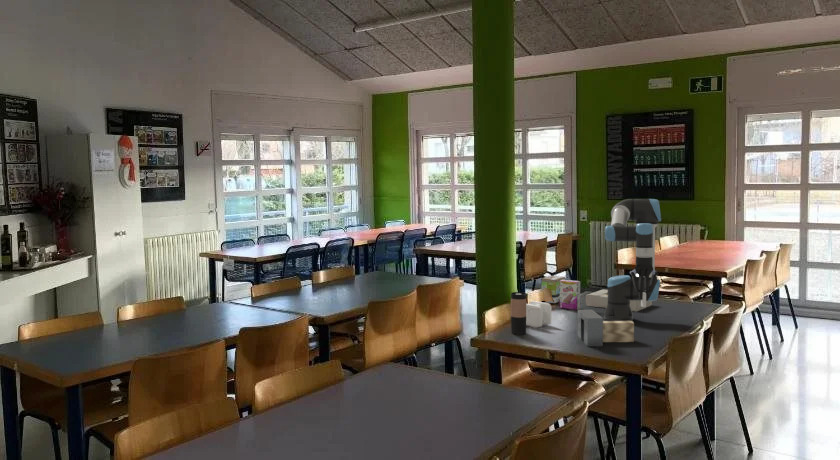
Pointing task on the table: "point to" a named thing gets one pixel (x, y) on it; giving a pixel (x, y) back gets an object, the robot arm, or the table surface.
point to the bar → (618, 331)
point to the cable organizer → (538, 314)
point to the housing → (590, 328)
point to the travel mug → (518, 313)
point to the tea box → (553, 286)
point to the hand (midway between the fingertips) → (643, 306)
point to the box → (602, 300)
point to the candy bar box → (569, 294)
